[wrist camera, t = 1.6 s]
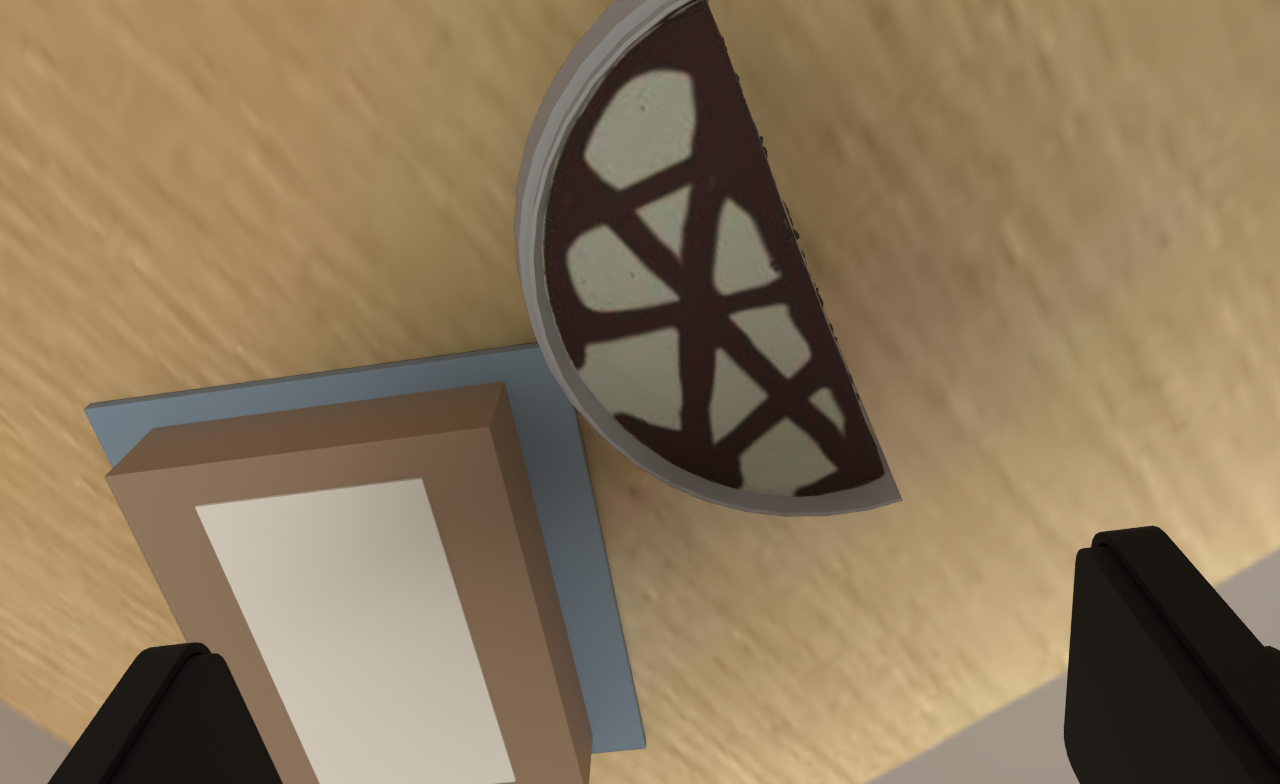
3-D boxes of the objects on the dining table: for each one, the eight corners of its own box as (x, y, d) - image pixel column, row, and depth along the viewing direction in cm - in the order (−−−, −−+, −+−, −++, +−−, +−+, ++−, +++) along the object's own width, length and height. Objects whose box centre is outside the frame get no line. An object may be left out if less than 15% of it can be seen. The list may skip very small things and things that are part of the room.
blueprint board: (560, 339, 29) (549, 389, 26) (645, 740, 37) (644, 815, 34) (90, 403, 31) (26, 458, 28) (271, 777, 39) (237, 852, 36)
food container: (476, 39, 25) (377, 104, 16) (683, -62, 24) (697, -51, 15) (654, 403, 30) (652, 605, 21) (833, 336, 29) (909, 519, 20)
